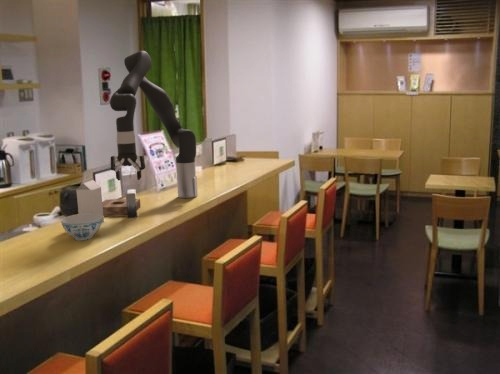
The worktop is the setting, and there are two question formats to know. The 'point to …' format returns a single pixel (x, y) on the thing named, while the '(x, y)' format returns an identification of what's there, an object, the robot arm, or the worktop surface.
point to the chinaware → (82, 225)
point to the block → (117, 207)
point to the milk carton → (90, 198)
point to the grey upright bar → (131, 205)
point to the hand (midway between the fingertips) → (128, 179)
